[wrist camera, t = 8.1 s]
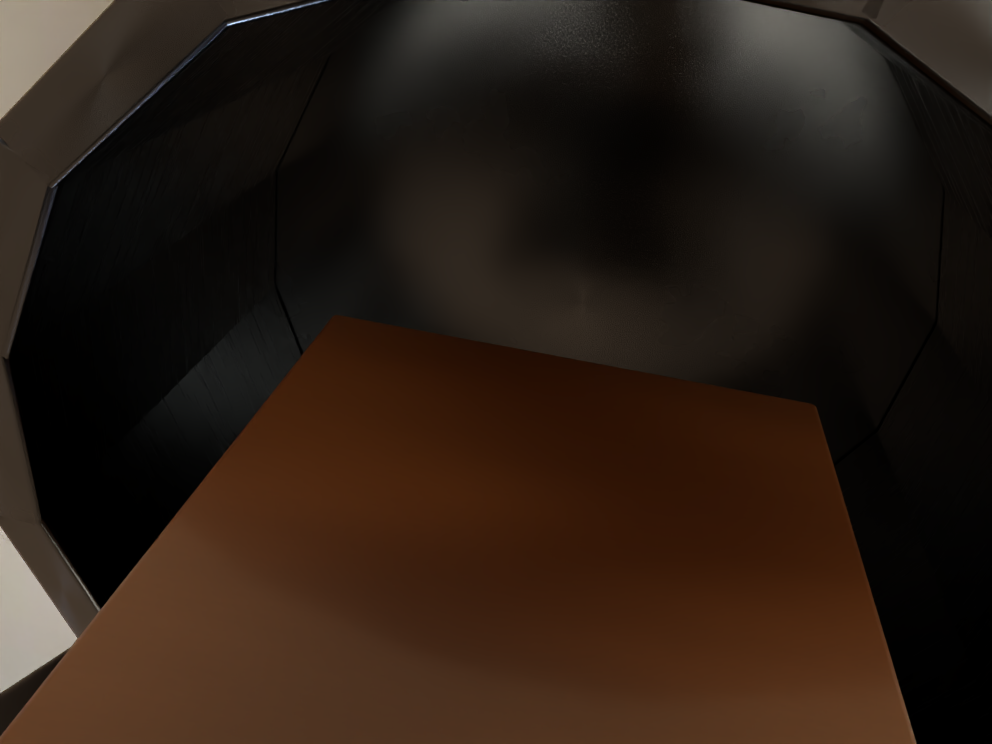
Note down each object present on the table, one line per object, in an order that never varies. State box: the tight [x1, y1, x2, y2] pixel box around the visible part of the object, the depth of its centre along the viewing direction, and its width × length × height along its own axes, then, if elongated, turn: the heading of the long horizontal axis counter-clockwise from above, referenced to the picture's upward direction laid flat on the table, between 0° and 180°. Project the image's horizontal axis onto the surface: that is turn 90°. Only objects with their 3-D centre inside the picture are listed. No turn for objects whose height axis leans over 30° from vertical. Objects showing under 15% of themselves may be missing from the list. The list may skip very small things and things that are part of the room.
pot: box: [0, 0, 992, 744], centre depth 12 cm, size 13×13×8 cm
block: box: [0, 315, 917, 744], centre depth 7 cm, size 5×5×5 cm
